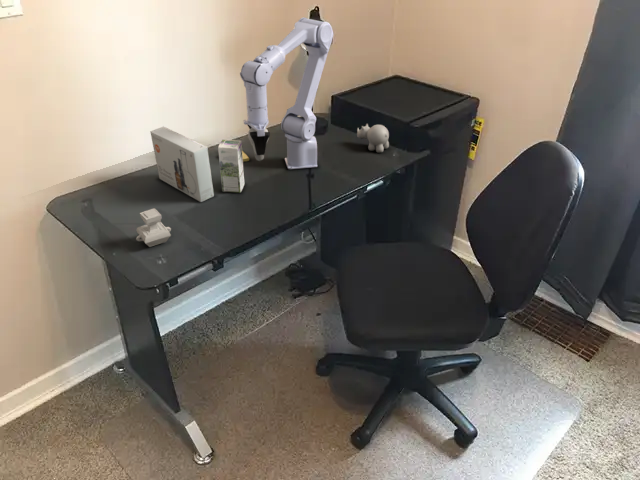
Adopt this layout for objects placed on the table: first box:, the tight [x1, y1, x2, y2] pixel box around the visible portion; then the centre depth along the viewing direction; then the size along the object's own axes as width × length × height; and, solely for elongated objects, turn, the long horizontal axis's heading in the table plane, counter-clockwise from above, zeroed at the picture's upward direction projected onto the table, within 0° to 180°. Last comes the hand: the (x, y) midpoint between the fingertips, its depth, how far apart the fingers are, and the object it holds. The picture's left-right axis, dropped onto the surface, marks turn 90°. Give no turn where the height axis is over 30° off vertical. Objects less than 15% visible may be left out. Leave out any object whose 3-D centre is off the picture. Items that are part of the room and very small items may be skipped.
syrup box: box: [217, 139, 246, 194], centre depth 164 cm, size 6×6×14 cm
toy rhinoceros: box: [356, 123, 390, 153], centre depth 192 cm, size 7×12×8 cm, turn 52°
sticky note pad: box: [242, 150, 250, 163], centre depth 185 cm, size 8×8×1 cm
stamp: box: [135, 207, 172, 248], centre depth 141 cm, size 9×7×8 cm
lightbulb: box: [247, 127, 270, 162], centre depth 165 cm, size 6×6×11 cm
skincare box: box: [149, 126, 215, 203], centre depth 164 cm, size 21×5×16 cm, turn 47°
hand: (259, 150), depth 166 cm, fingers closed on lightbulb, 6 cm apart
